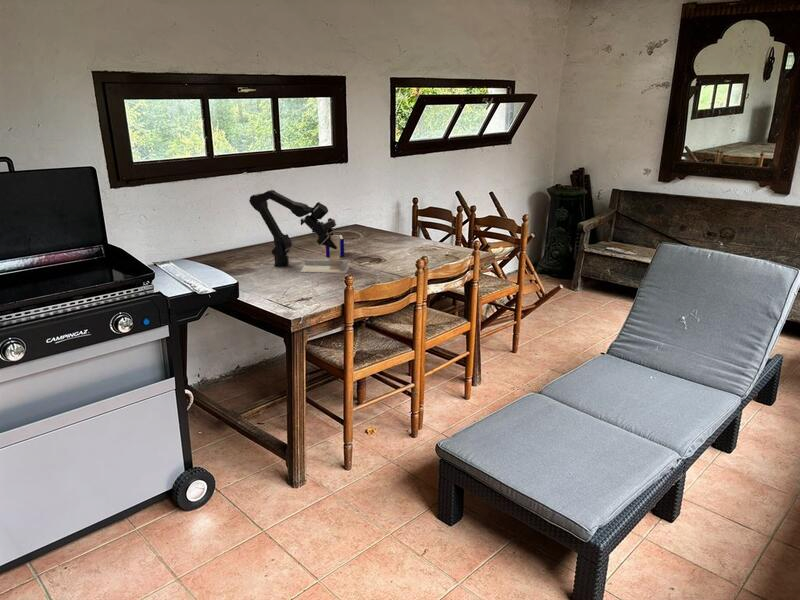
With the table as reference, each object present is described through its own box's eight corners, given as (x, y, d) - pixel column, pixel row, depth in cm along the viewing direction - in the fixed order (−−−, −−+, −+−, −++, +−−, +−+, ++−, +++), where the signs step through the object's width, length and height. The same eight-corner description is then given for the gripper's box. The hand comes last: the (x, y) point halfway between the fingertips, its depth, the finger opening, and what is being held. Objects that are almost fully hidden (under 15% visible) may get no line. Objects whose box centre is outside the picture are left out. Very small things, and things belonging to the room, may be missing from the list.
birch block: (338, 261, 302) (338, 238, 299) (329, 261, 303) (329, 237, 299) (340, 258, 308) (339, 235, 304) (331, 258, 308) (331, 235, 305)
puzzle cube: (326, 257, 329) (325, 239, 326) (324, 253, 338) (324, 235, 335) (344, 256, 331) (344, 238, 328) (342, 252, 340) (342, 234, 337)
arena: (300, 272, 300) (300, 266, 299) (305, 265, 313) (305, 259, 312) (346, 273, 299) (346, 267, 298) (349, 265, 312) (349, 260, 311)
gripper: (322, 217, 289) (346, 240, 292) (329, 210, 307) (351, 232, 310) (307, 233, 292) (330, 256, 295) (314, 225, 310) (336, 247, 313)
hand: (337, 247), depth 303 cm, fingers closed on birch block, 6 cm apart
